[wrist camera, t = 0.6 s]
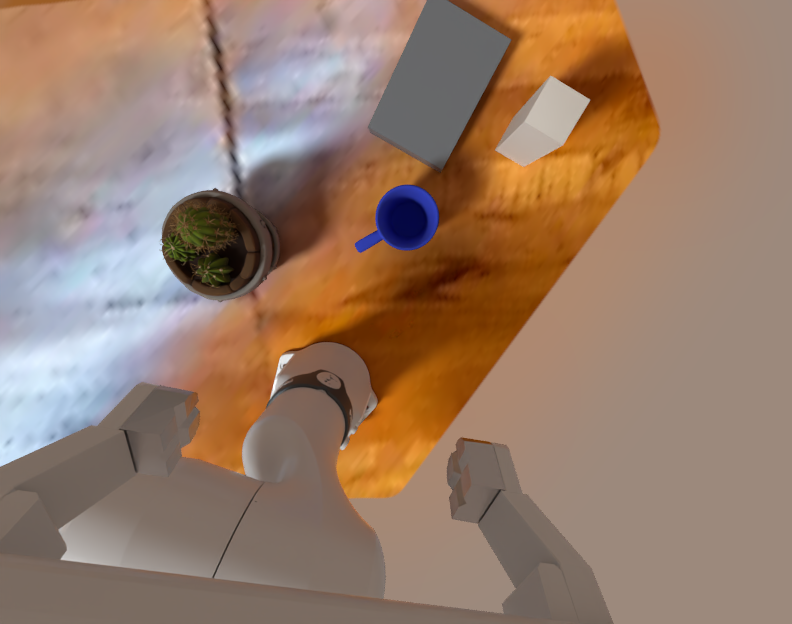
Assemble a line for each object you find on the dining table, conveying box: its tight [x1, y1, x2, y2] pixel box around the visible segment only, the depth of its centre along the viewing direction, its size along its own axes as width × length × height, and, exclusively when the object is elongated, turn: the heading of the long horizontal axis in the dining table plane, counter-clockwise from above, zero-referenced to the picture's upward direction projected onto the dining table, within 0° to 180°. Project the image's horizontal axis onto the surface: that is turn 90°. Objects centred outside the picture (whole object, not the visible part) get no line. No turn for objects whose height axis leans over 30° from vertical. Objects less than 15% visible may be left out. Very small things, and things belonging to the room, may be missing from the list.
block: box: [495, 76, 590, 167], centre depth 44 cm, size 5×5×14 cm
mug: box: [355, 185, 439, 253], centre depth 50 cm, size 8×12×10 cm
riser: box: [368, 0, 511, 173], centre depth 48 cm, size 18×12×3 cm, turn 152°
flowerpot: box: [160, 188, 280, 302], centre depth 47 cm, size 14×15×20 cm
